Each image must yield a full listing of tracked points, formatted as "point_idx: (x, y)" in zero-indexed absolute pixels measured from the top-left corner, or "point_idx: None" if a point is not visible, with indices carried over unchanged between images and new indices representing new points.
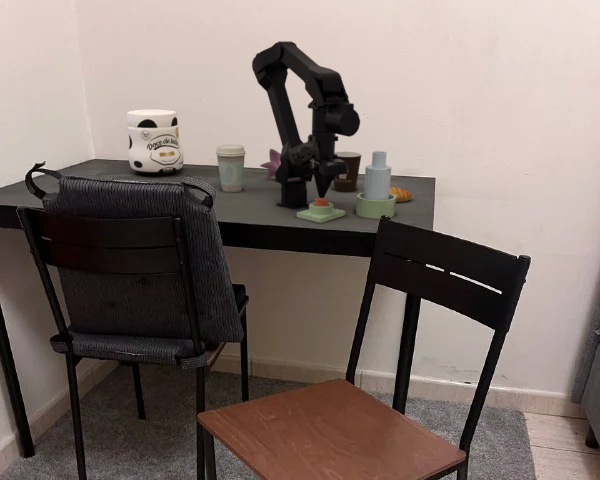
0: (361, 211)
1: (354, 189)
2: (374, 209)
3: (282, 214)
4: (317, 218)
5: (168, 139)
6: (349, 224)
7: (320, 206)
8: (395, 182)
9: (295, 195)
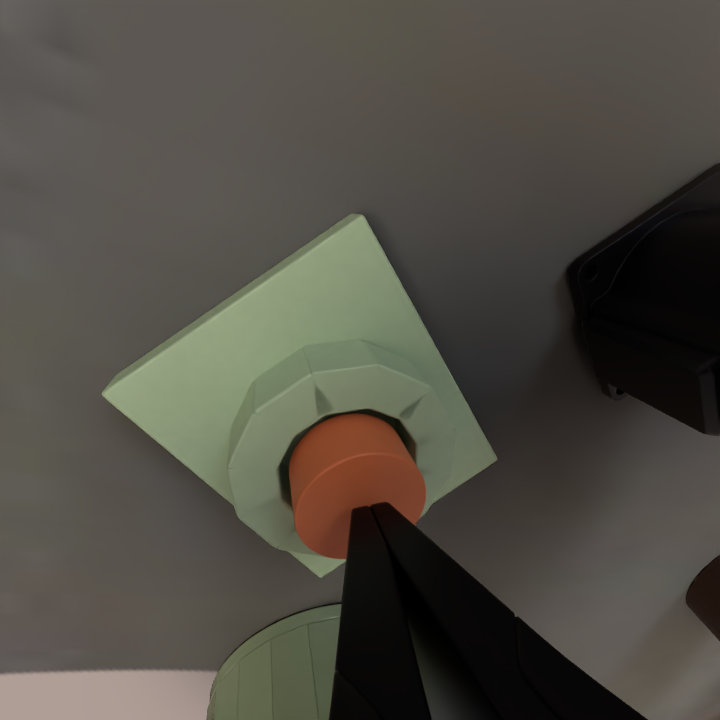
0: (273, 656)
1: (694, 612)
2: None
3: (481, 105)
4: (138, 367)
5: None
6: (76, 560)
7: (275, 455)
8: (690, 705)
9: (691, 309)
